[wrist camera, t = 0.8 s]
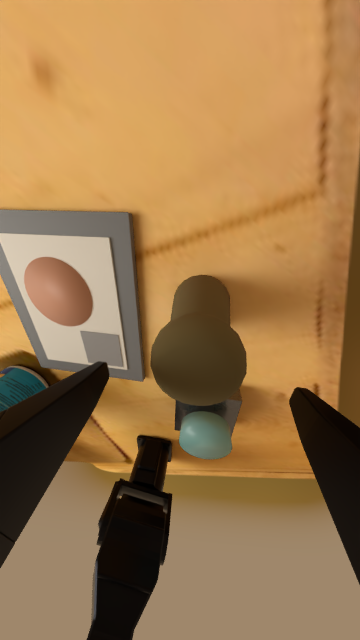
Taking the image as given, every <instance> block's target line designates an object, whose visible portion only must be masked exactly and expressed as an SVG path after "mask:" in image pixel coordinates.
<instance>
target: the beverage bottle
mask: <svg viewBox="0 0 360 640" xmlns="http://www.w3.org/2000/svg"><path fill="white" fill-rule="evenodd" d="M48 387H49V386H48V384H47V382H46V381H45V380H44V379H43V378H42V377H41V376H40V375H39V374H37V373H36V372H34V371H33V370H31V369H28V368H26V367H22V366H11V367H8V368H6V369H4V370H3V371H1V372H0V412H2V411H4V410H6V409H8V408H9V407H11V406H13V405H15V404H17V403H19V402H21V401H23V400H25V399H27V398H29V397H31V396H32V395H34V394H36V393H38V392H40V391H42V390H44V389H46V388H48Z"/></svg>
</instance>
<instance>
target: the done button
mask: <svg viewBox="0 0 360 640" xmlns="http://www.w3.org/2000/svg"><path fill="white" fill-rule="evenodd" d="M179 443H180V446H181V447H182V449H183V450H185V451H186V452H187V453H189V454H190V455H193V456H195V457H198V458H202V459H219V458H223V457H225V456H227V455H228V454H229V453H230V452H231V450H232V443H231V435H230V427H229V424H228V423H227V421H226V420H225V419H224V418H222V417H221V416H219V415H217V414H215V413H211V412H205V411H197V412H192V413H190V414H188V415H186V416H185V417H184V418H183V419H182V423H181V430H180V437H179Z"/></svg>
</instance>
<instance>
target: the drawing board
mask: <svg viewBox="0 0 360 640" xmlns="http://www.w3.org/2000/svg"><path fill="white" fill-rule="evenodd" d="M0 275H1V277H2V279H3V282H4V284H5V286H6V288H7V291H8V293H9V295H10V297H11V300H12V302H13V304H14V306H15V309H16V311H17V313H18V315H19V318H20V320H21V322H22V324H23V327H24V329H25V331H26V333H27V336H28V338H29V340H30V342H31V345H32V347H33V349H34V351H35V354H36V356H37V358H38V360H39V363H40V365H41V367H44V368H51V369H58V370H65V371H72V372H78V371H80V370H82V369H84V368H86V367H88V366H90V365H92V364H94V363H96V362H98V361H103V362H107V364H108V369H109V374H110V375H109V377H114V378H121V379H128V380H135V381H142V382H143V380H144V378H145V373H144V360H143V348H142V335H141V322H140V310H139V297H138V284H137V272H136V259H135V247H134V234H133V221H132V214H131V213H128V212H84V211H38V210H0Z"/></svg>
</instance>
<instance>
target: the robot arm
mask: <svg viewBox="0 0 360 640" xmlns="http://www.w3.org/2000/svg"><path fill="white" fill-rule="evenodd" d="M109 375H110V374H109V369H108V364H107V362H103V361H98V362H96V363H94V364H92V365H90V366H88V367H86V368H84V369H82V370H80V371H78V372H76V373H75V374H73V375H71V376H69V377H67V378H65V379H63V380H61V381H59V382H57V383H55V384H54V385H52V386H50V387H48V388H46V389H44V390H42V391H40V392H38V393H36V394H34V395H32V396H31V397H29V398H27V399H25V400H23V401H21V402H19V403H17V404H15V405H13V406H11V407H9V408H8V409H6V410H4V411H2V412H0V568H1V566H2V565H3V563H4V561H5V560H6V558H7V556H8V554H9V553H10V551H11V549H12V548H13V546H14V544H15V542H16V541H17V539H18V537H19V536H20V534H21V532H22V530H23V529H24V527H25V525H26V524H27V522H28V520H29V519H30V517H31V515H32V513H33V512H34V510H35V508H36V507H37V505H38V503H39V502H40V500H41V498H42V497H43V495H44V493H45V492H46V490H47V488H48V486H49V485H50V483H51V481H52V480H53V478H54V476H55V475H56V473H57V471H58V469H59V468H60V466H61V465H62V463H63V461H64V459H65V458H66V456H67V454H68V453H69V451H70V449H71V448H72V446H73V444H74V443H75V441H76V439H77V437H78V436H79V434H80V432H81V431H82V429H83V427H84V426H85V424H86V422H87V421H88V419H89V417H90V416H91V414H92V412H93V410H94V409H95V407H96V405H97V403H98V401H99V398H100V396H101V394H102V392H103V390H104V388H105V386H106V384H107V381H108V379H109ZM289 404H290V408H291V411H292V414H293V417H294V421H295V424H296V427H297V430H298V434H299V437H300V440H301V443H302V445H303V448H304V450H305V453H306V455H307V458H308V460H309V463H310V465H311V467H312V470H313V472H314V475H315V477H316V480H317V482H318V484H319V487H320V489H321V492H322V494H323V497H324V499H325V502H326V504H327V506H328V509H329V511H330V514H331V516H332V518H333V521H334V523H335V526H336V528H337V531H338V533H339V535H340V538H341V541H342V543H343V545H344V548H345V550H346V553H347V555H348V558H349V560H350V562H351V565H352V567H353V570H354V572H355V574H356V577H357V580H358V582H359V584H360V428H359V427H358V426H357V425H355V424H354V423H352V422H351V421H350V420H348V419H347V418H346V417H344V416H343V415H342V414H341V413H339V412H338V411H337V410H335V409H334V408H333V407H331V406H330V405H329V404H327V403H326V402H325V401H323V400H322V399H320V398H319V397H318V396H316V395H315V394H314V393H312V392H311V391H310V390H308V389H306V388H300V387H297V388H295V389H294V391H293V393H292V395H291V398H290V400H289ZM137 443H138V454H137V457H136V461H135V464H134V467H133V470H132V473H131V476H130V479H129V481H125V480H124V479H121V478H120V481H117V482H115V484H114V487H113V490H112V493H111V495H110V497H109V500H108V502H107V504H106V506H105V509H104V511H103V513H102V515H101V518H100V520H99V523H98V525H99V534H98V536H99V537H98V541H97V545H100V546H101V547H100V550H99V553H98V555H97V559H96V563H95V569H94V575H93V590H92V621H91V624H92V625H91V628H90V631H89V634H88V638H87V640H132V638H133V632H134V629H135V627H136V625H137V623H138V621H139V619H140V617H141V614H142V612H143V610H144V608H145V606H146V604H147V602H148V600H149V598H150V596H151V594H152V592H153V589H154V587H155V585H156V583H157V580H158V575H159V567H160V565H163V563H164V560H165V555H166V550H167V544H168V536H169V526H170V514H171V503H172V494H171V493H169V494H168V493H165V492H163V486H164V480H165V474H166V468H167V462H171V454H172V442H170V441H166V440H161V439H155V438H150V437H144V436H138V437H137ZM120 496H122V498H121V499H120V498H119V497H120Z"/></svg>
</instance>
